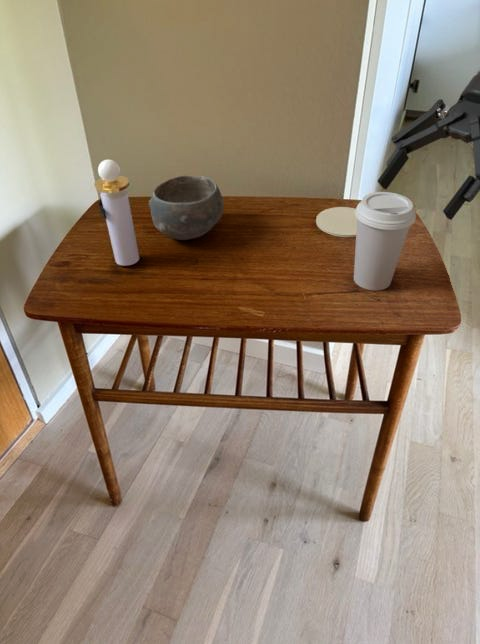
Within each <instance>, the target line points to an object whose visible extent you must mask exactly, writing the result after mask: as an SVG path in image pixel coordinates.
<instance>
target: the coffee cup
mask: <svg viewBox="0 0 480 644" xmlns="http://www.w3.org/2000/svg"><path fill="white" fill-rule="evenodd" d="M416 215H417V214H416V211H415V208H414V203H413V202H412V200H411V199H409V198H408V197H406V196H404V195H402V194H399V193H395V192H390V191H375V192H371V193H368V194H366V195H364V196H363V197H362V198H361V201H359V202H358V204H357V206H356V207H355V216H356V218H357V231H356V237H355V248H354V265H353V282H354V283H355V284H356V285H357V286H358V287H360V288H362V289H364V290H368V291H375V292H376V291H378V292H379V291H383V290H385V289H388V288H389V287H390V286H391V284H392V281H393V278H394V274H395V272H396V269H397V265H398V263H399V260H400V257H401V254H402V251H403V248H404V245H405V242H406V239H407V236H408V234H409V231H410V229H411V228H410V227H411V226H412V225H414V223H415V222H416V219H417V217H416Z"/></svg>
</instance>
